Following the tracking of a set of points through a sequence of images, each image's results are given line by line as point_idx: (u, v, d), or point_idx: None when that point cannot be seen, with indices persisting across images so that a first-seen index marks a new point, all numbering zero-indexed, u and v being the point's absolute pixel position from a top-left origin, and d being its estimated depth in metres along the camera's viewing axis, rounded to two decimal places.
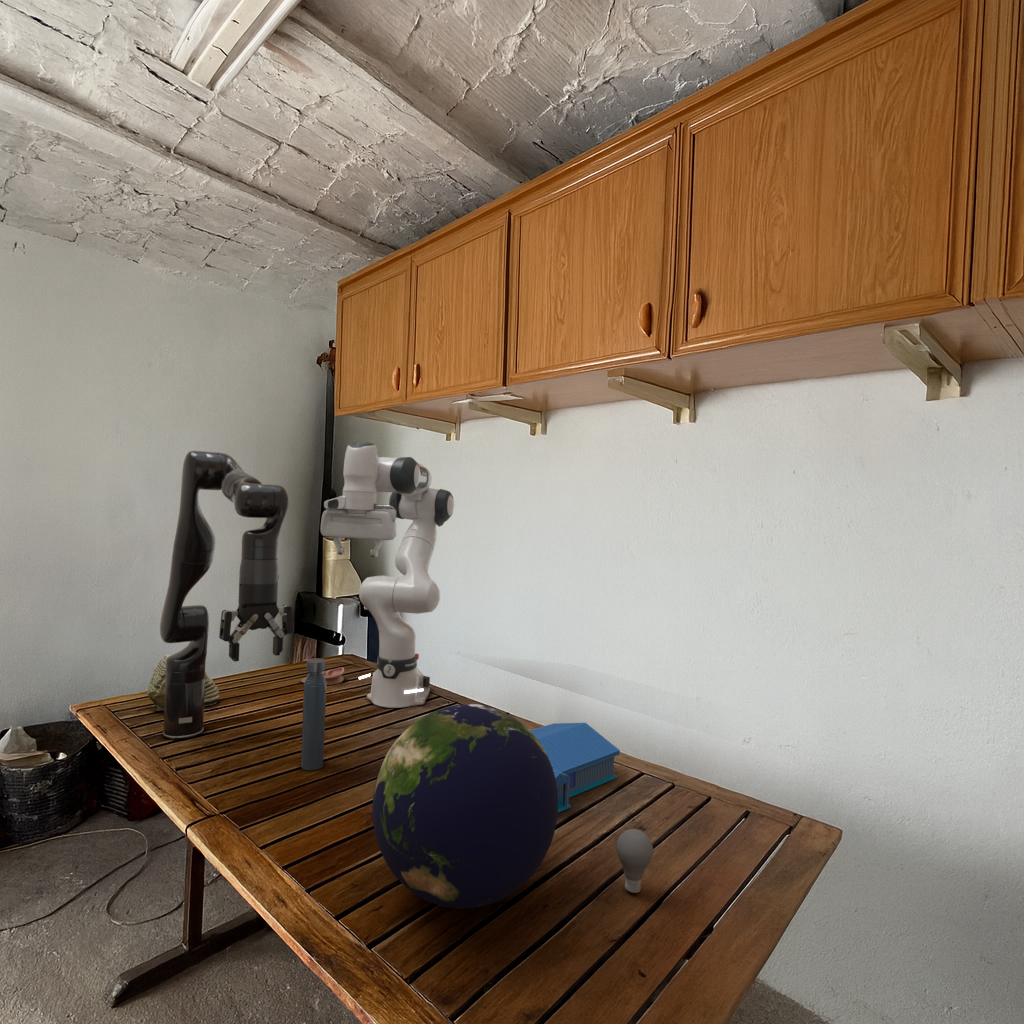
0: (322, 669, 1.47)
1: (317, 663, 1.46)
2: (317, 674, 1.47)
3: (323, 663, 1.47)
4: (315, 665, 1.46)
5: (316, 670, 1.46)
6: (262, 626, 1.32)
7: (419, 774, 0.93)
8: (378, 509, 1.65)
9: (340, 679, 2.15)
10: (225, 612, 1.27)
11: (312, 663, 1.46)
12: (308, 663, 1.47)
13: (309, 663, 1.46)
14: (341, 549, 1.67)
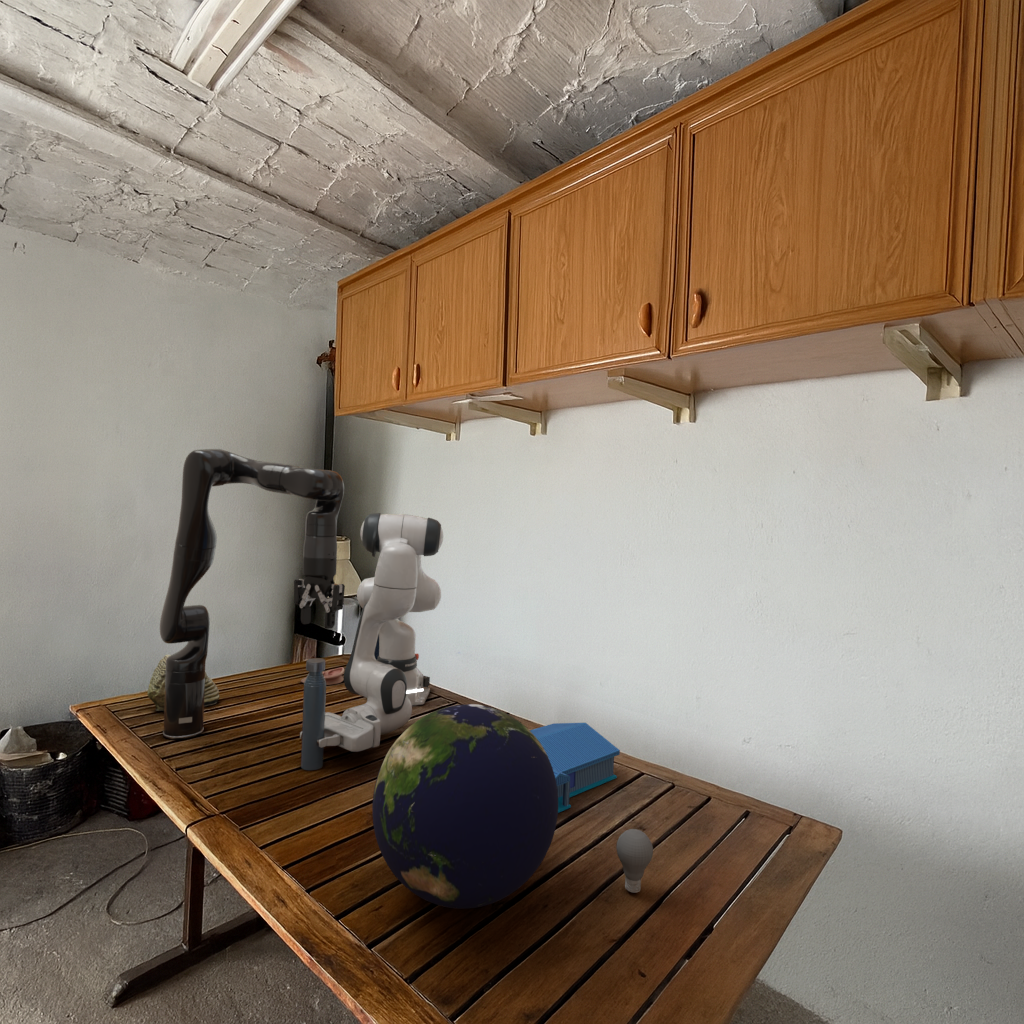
0: (322, 669, 1.47)
1: (317, 663, 1.46)
2: (317, 674, 1.47)
3: (323, 663, 1.47)
4: (315, 665, 1.46)
5: (316, 670, 1.46)
6: None
7: (419, 774, 0.93)
8: None
9: (340, 679, 2.15)
10: (342, 585, 1.45)
11: (312, 663, 1.46)
12: (308, 663, 1.47)
13: (309, 663, 1.46)
14: None
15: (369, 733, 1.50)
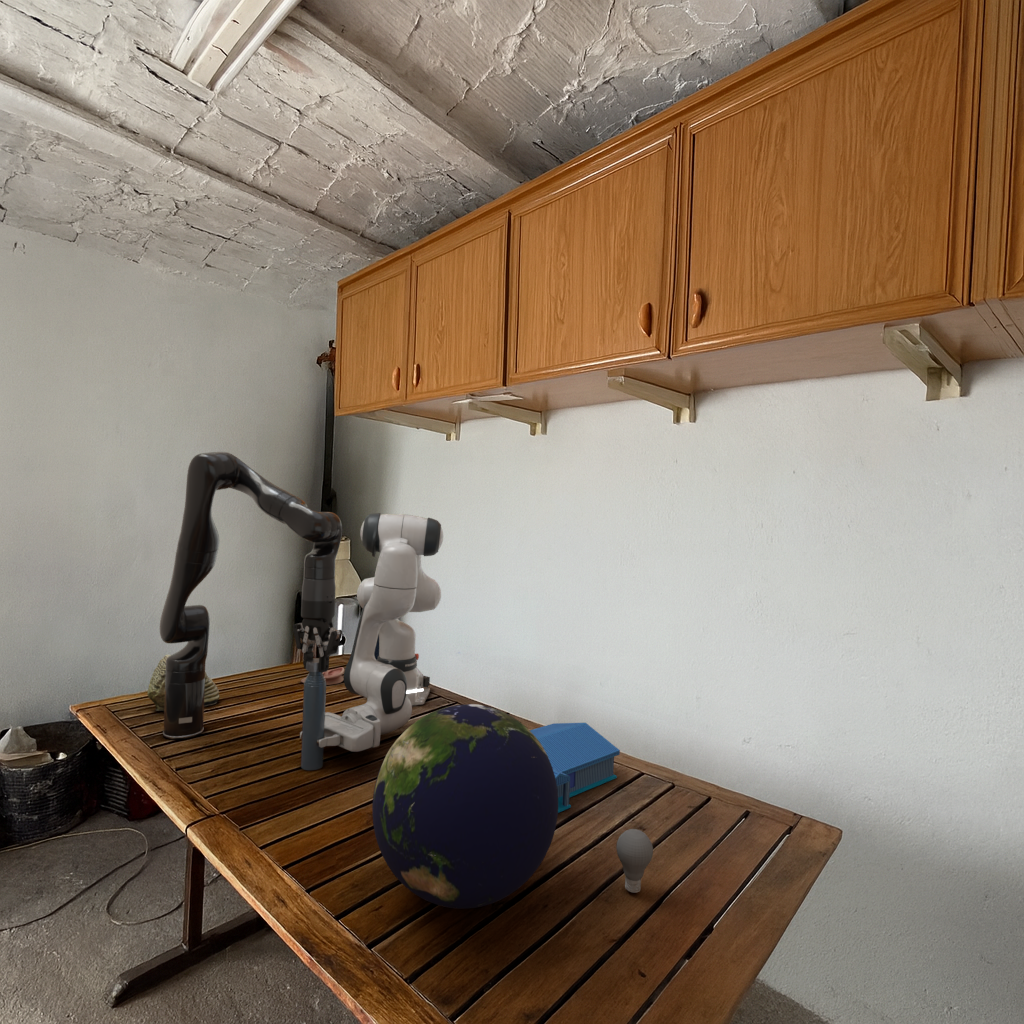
0: None
1: (317, 663, 1.46)
2: (317, 674, 1.47)
3: None
4: (315, 665, 1.46)
5: (316, 670, 1.46)
6: None
7: (419, 774, 0.93)
8: None
9: (340, 679, 2.15)
10: (340, 632, 1.45)
11: (312, 663, 1.46)
12: (308, 663, 1.47)
13: (309, 663, 1.46)
14: None
15: (369, 733, 1.50)
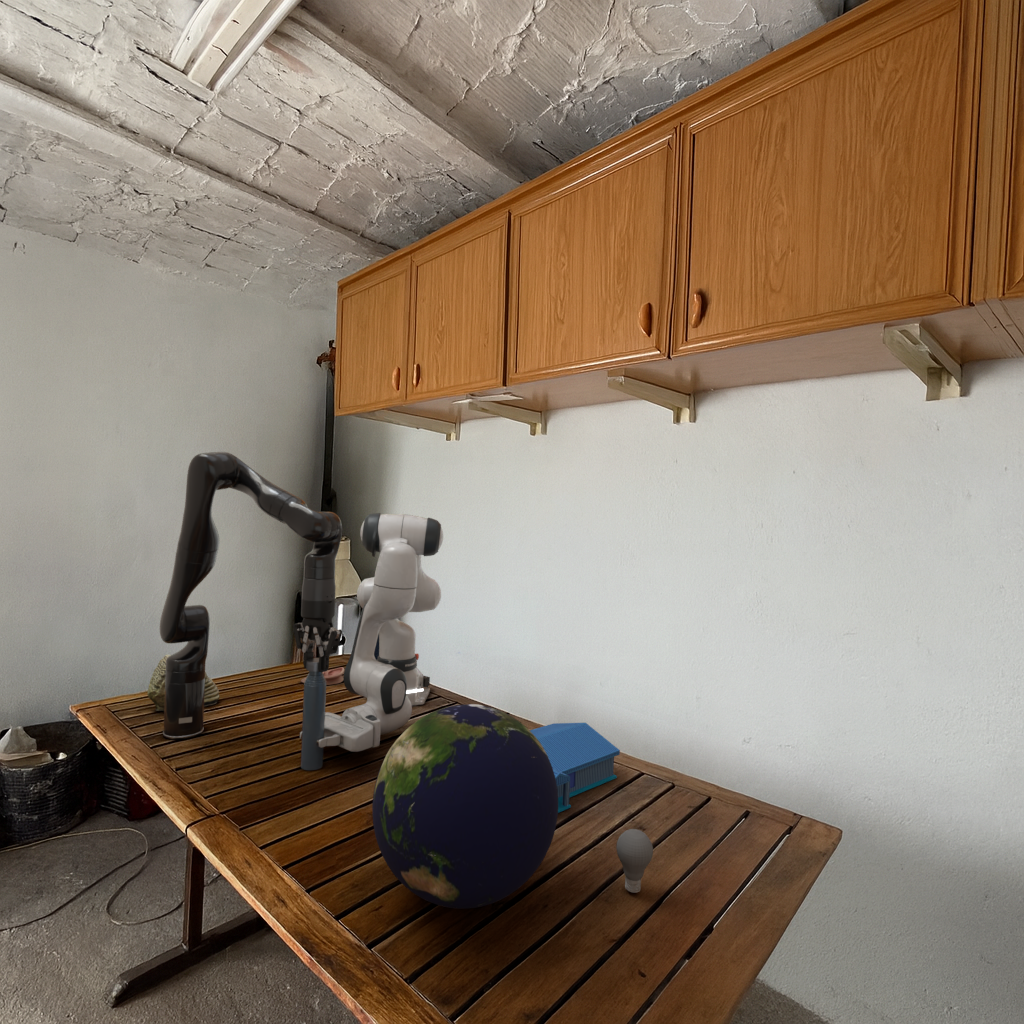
0: None
1: None
2: (317, 674, 1.47)
3: None
4: None
5: None
6: None
7: (419, 774, 0.93)
8: None
9: (340, 679, 2.15)
10: (340, 632, 1.45)
11: None
12: None
13: None
14: None
15: (369, 733, 1.50)
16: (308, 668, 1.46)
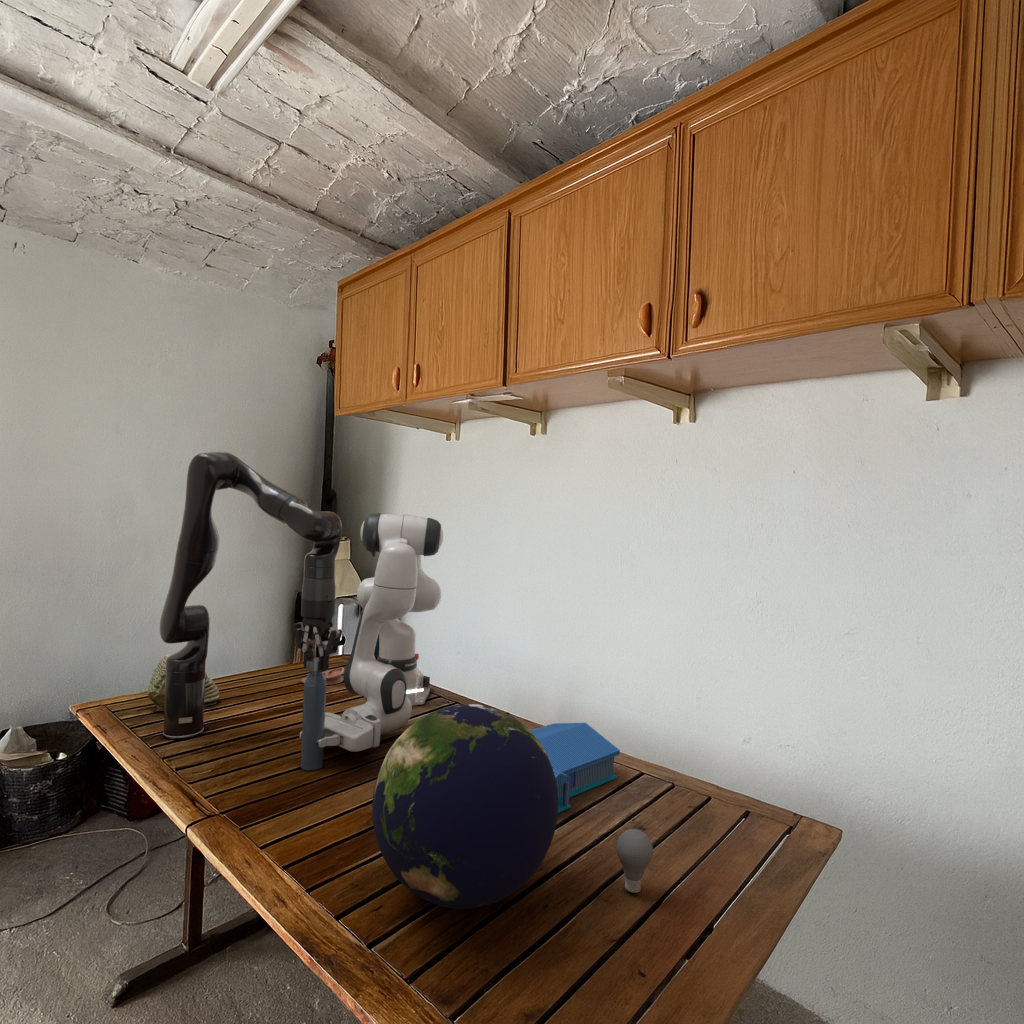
0: None
1: None
2: (317, 674, 1.47)
3: None
4: None
5: None
6: None
7: (419, 774, 0.93)
8: None
9: (340, 679, 2.15)
10: (339, 631, 1.45)
11: None
12: None
13: None
14: None
15: (369, 733, 1.50)
16: None
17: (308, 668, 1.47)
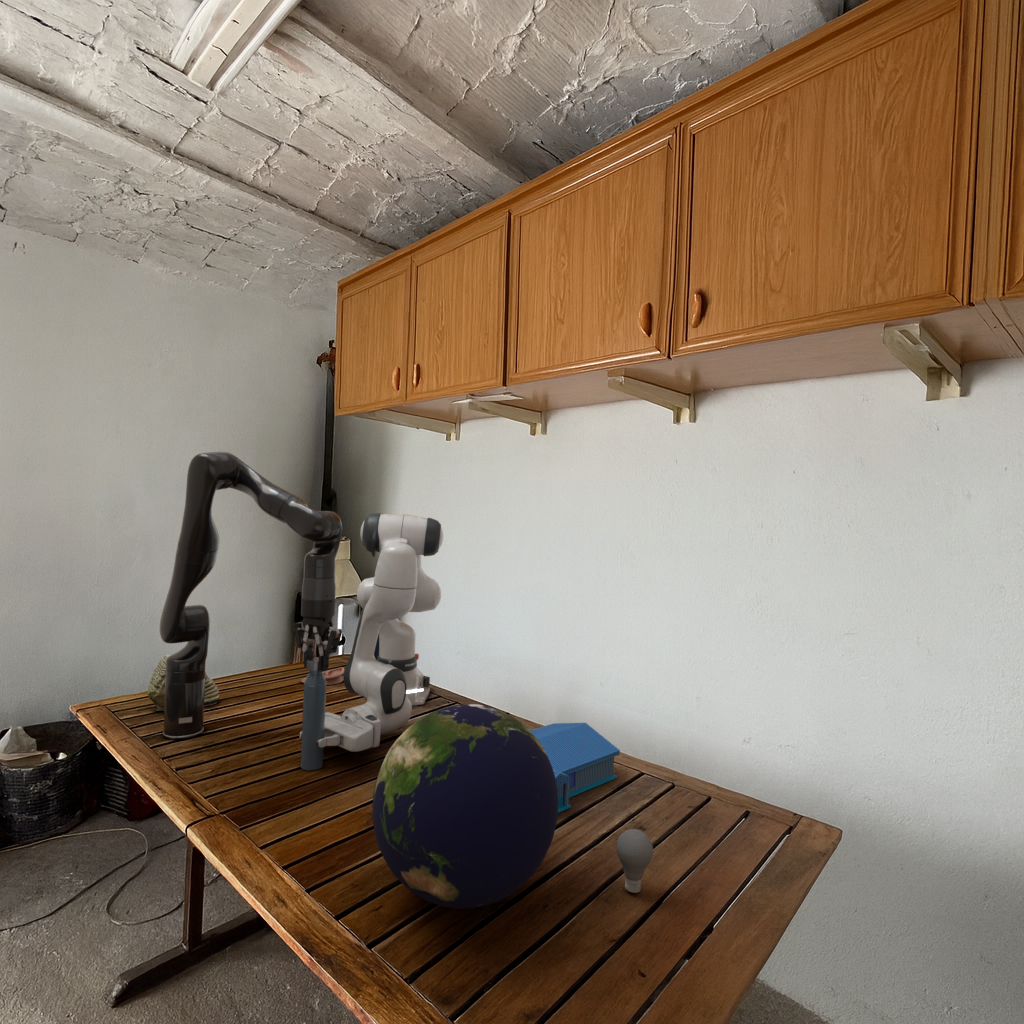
0: (306, 667, 1.48)
1: None
2: (317, 674, 1.47)
3: (307, 661, 1.48)
4: None
5: None
6: None
7: (419, 774, 0.93)
8: None
9: (340, 679, 2.15)
10: (339, 631, 1.45)
11: None
12: None
13: None
14: None
15: (369, 733, 1.50)
16: None
17: None
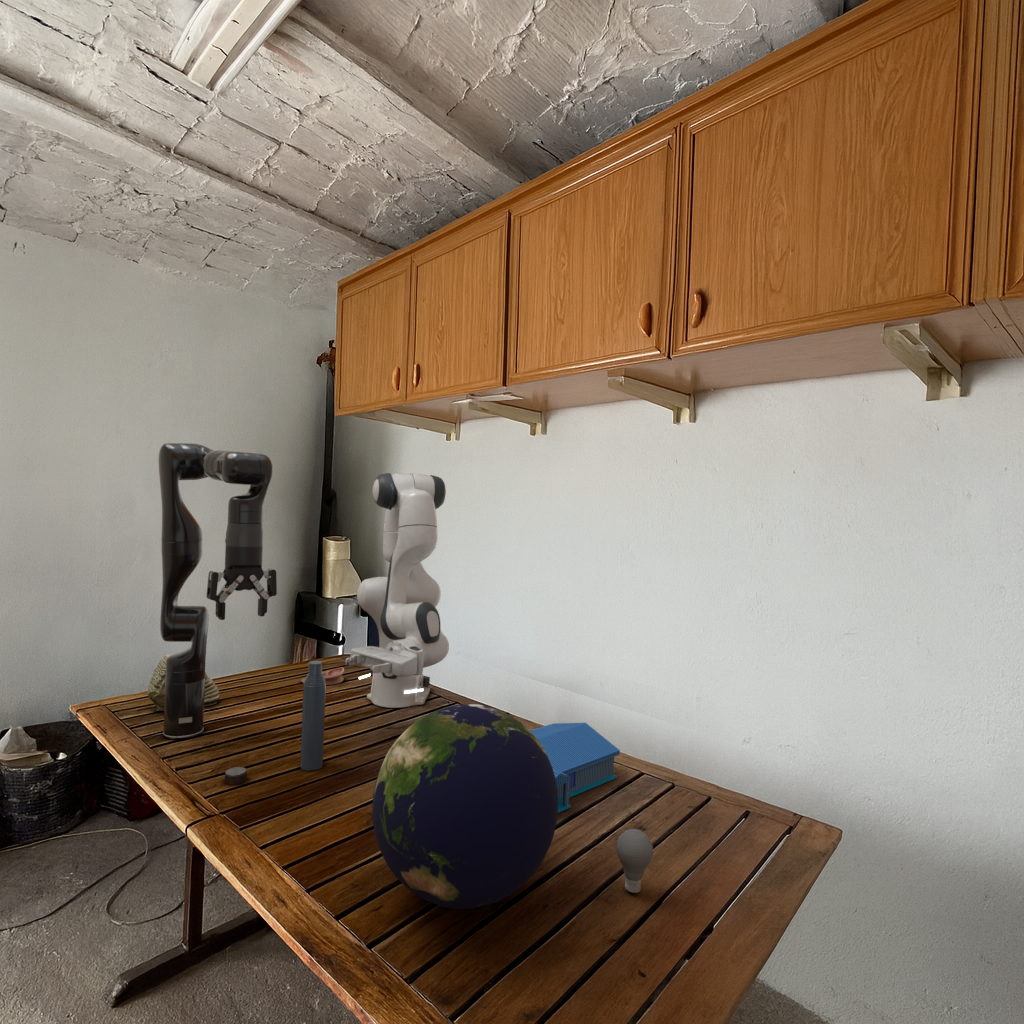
0: None
1: (245, 770, 1.40)
2: (317, 674, 1.47)
3: None
4: (245, 773, 1.40)
5: (245, 778, 1.40)
6: None
7: (419, 774, 0.93)
8: None
9: (340, 679, 2.15)
10: None
11: (244, 773, 1.39)
12: (240, 775, 1.38)
13: (241, 774, 1.38)
14: None
15: (414, 660, 1.60)
16: (227, 781, 1.37)
17: None
